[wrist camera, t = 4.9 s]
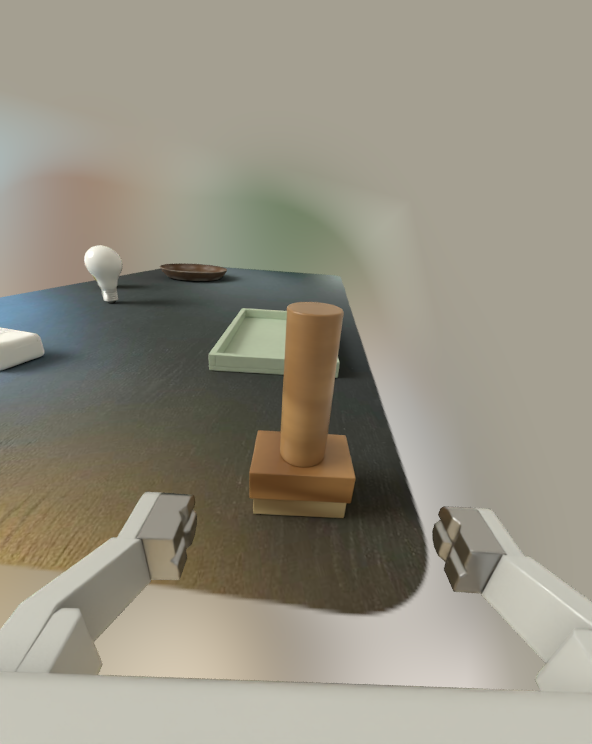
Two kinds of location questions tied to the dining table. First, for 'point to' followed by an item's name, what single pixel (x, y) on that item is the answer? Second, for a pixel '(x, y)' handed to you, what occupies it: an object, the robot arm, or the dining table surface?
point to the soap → (18, 347)
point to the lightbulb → (104, 270)
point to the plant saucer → (193, 272)
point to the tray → (253, 344)
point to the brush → (305, 425)
